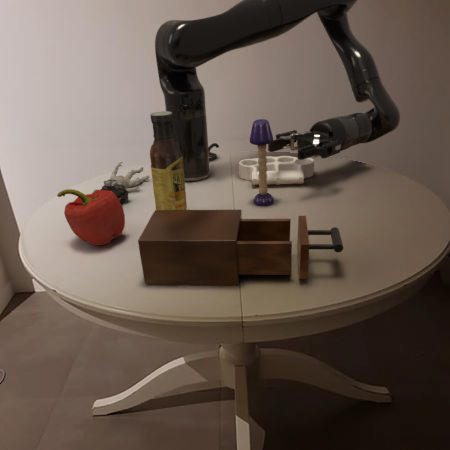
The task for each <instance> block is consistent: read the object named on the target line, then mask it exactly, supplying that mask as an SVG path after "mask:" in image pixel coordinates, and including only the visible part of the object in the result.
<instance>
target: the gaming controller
mask: <svg viewBox="0 0 450 450" xmlns="http://www.w3.org/2000/svg"><path fill="white" fill-rule="evenodd" d="M97 190H98V189H94V190H93V192H92V193H91V194H93V193H94V192H95V191H97ZM99 190H108V191H112V192H113V193H114V194H115V195H116V196H117V198H118V199H119V201H120V202H123V203H125V204H127V203H128V201H129V192H128V191H127V190H126V188H125V186H123V185H120V184H115V185H112V186H111V185H110V184H107V183H106V184H104V183H103V186H102V187H101V188H100V189H99Z"/></svg>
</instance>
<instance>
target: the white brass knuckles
mask: <svg viewBox="0 0 450 450" xmlns="http://www.w3.org/2000/svg"><path fill="white" fill-rule="evenodd" d="M258 158H259V157H256V158H243V159H241V160H240V161H239V162H238V176H239V178H240V179H242V180H246V181H251V185H253V186H257V185H259V177H258V175H259V171H258V167H259V164H258ZM266 159H267V163H266V166H267V172H266V173H267V179H266V180H267V185H276V186H277V185H295V184H298V185H302V184H304V179H308V178H312V177H313V176H314V174H315V173H314V172H315V159H314V158H313V157H309V158H306V159H303V160H299V159H298V156H291V155H279V156H271V155H268V156H267V155H266Z"/></svg>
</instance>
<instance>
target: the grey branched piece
mask: <svg viewBox="0 0 450 450" xmlns="http://www.w3.org/2000/svg"><path fill="white" fill-rule="evenodd" d="M123 163H124V162H123V161H120V162H118V163H117V164H116V166H115V167H114V169H113V171H112V173H111V175H110V177H109V178H108V179H107V180H103V185H104V184H106V183H107V184H110V185H111V186H112V185H115V184H120V185H123V186H125V188H126V190H127V191H128V193H131V192H134V191H138V190H139V189H140V186H136V185H138V184H142V182H144V181H147V180H149V179H150V176H149V175H148V174H147V175H146V176H143V177H142V178H139V177H136V178H134V179H132V178H133V176H135V175H136V174H140V173H142V172H143V171H144V166H141V167H140V168H138V169H136V170H135V169H131V170H130V171H128V172H127V173H126V174H125V176H123V175H117V173H118V171H119V168H120V167H122V166H123ZM133 186H134V187H133Z"/></svg>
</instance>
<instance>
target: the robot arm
mask: <svg viewBox="0 0 450 450" xmlns="http://www.w3.org/2000/svg"><path fill="white" fill-rule="evenodd" d="M357 2H358V0H241V1H239V2H238V3H235V4H234V5H233V6H232V7H230V8H229V9H227V10H226V11H224V12H222V13H219V14H216V15H212V16H208V17H204V18H198V19H197V18H196V19H184V20H183V19H170V20H167V21H165V22H164V23H162V24H161V25H160V26H159V28H158V30H157V31H156V34H155V37H154V38H155V39H154V52H155V53H154V54H155V60H156V61H155V62H156V67H157V74H158V81H159V87H160V90H161V92H162V95H163V101H164V107H165V111H168V112H172V114H173V122H172V123H173V133H174V138H175V140H176V142H177V145H178V147H179V149H180V151H181V154H182V157H183V168H184V179H185V182H197V181H202V180H204V179H207V178H208V177H210V175H211V169H210V162H212V161H214V160H215V159H217V157H218V155H217V153H215V152H211V150H212V149H213V148H217V149H218V148H220V145H219V144H218V143H217V142H214V143H211V144H210V145H209V138H208V136H209V135H208V123H207V122H208V121H207V109H206V108H207V107H206V93H205V88H204V86H203V85H202V83H201V82H200V79H199V77H198V73H197V68H199V67H201V66H203V65H204V64H207V63H208V62H210V61H212V60H214V59H216V58H218V57H220V56H222V55H224V54H227V53H229V52H232V51H235V50H239V49H243V48H247V47H250V46H254V45H257V44H260V43H264V42H267V41H269V40H273V39H276V38H278V37H280V36H282V35H284V34H286V33H288V32H290V31H291V30H293V29H295V28H296V27H297V26H298V25H300V24H301V23H303V22H304V21H306V20H307V19H308V18H310V17H311V16H312V15H314V14H316V15H317V17H318V18H319V21H320V23H321V25H322V27H323V28H324V31H325V32H326V34H327V36H328V39H329V40H330V42H331V44H332V46H333V48H334V50H335V51H336V54H337V56H338V58H339V60H340V62H341V65H342V67H343V69H344V72H345V75H346V78H347V82H348V85H349V88H350V91H351V94H352V97H353V99H354V101H355V102H356V103H358V104H359V103H361V104H362V103H366V102H369V101H370V103H372V105H373V107H372V108H371V109H369V110H367V111H365V112H364V113H363V112H355V113H350V114H345V115H339V116H334V117H331V118H327V119H324V120H320V121H317V122H315V123H313V125H312V126H311V127H310V129H309V130H307V131H306V130H305V131H303V132H298V130H296V129H292V130H289V131H286V132H282V133H281V132H280V133H277V134H275V139H273V142H272V143H270V144H267V151H268V152H269V153H274V152H277V151H280V150H284V149H285V150H286V149H289V150H290V151H297V157H298V159H299V160H303V159H306V158H318V157H320V158H321V159H327V158H330V157H333V156H335V155H338V154H340V153H341V152H342V151H345V150H348V149H349V148H351V147H354V146H356V145H360V144H369V143H371V142H374V141H376V140H378V139H379V138H381V137H384V136H385V135H387V134H390V133H392V132H394V131H395V130H397V129H398V127H399V125H400V122H401V112H400V108H399V107H398V105H397V103H396V102H395V101H394V99H393V98H392V97H391V94H389V92H388V90H387V89H386V87H385V85H384V84H383V83H382V79H381V76H380V72H379V70H378V66H377V64H376V61H375V58H374V57H373V55H372V53H371V52H370V51H369V49H368V48H367V47H366V46H364V44H363V43H361V42H360V40H359V39H357V37H356V36H355V34H354V33H353V31H352V29H351V26H350V21H349V18H348V17H349V16H348V13H349V11H350V10H351V9H352V8H353V7H354V6H355V5H356V3H357ZM295 143H296V145H297V146H296V145H295Z"/></svg>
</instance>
